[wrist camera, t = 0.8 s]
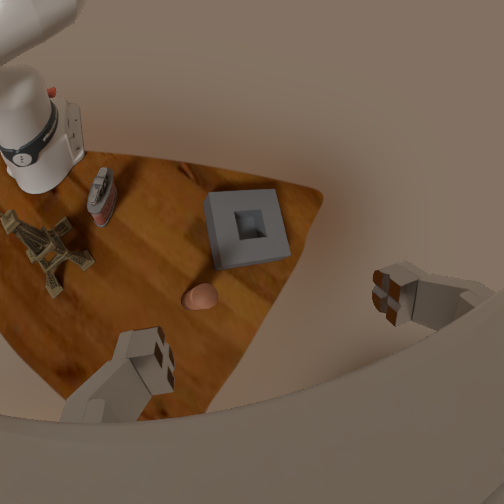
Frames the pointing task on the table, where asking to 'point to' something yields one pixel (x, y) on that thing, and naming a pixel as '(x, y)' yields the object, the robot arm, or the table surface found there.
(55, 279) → the eiffel tower
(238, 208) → the holder
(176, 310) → the table surface
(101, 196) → the lighter
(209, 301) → the peg
